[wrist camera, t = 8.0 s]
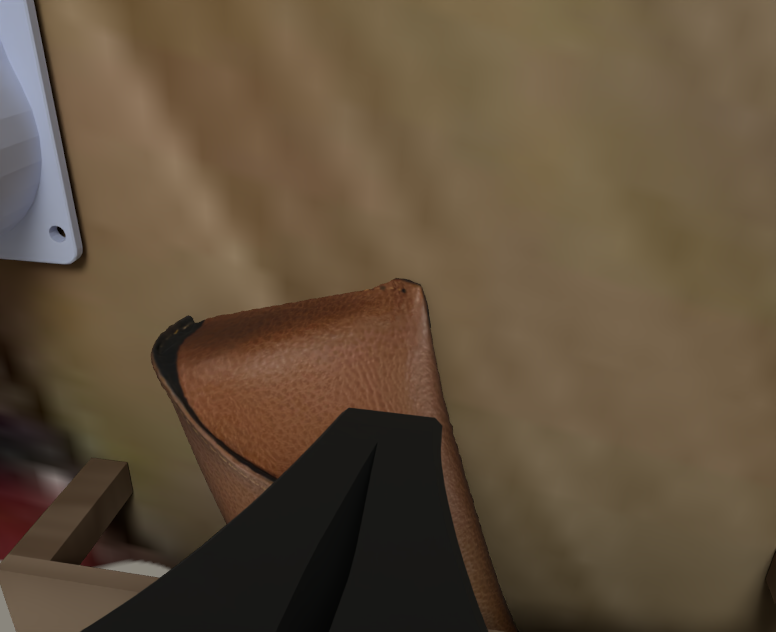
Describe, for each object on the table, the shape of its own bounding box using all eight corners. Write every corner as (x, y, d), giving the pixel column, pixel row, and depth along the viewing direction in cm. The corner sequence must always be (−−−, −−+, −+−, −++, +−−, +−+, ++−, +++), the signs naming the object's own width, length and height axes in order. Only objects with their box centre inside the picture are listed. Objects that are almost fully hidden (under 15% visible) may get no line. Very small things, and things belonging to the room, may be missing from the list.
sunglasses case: (553, 682, 26) (455, 849, 22) (416, 616, 31) (315, 743, 27) (420, 259, 20) (242, 389, 15) (270, 259, 24) (105, 358, 20)
